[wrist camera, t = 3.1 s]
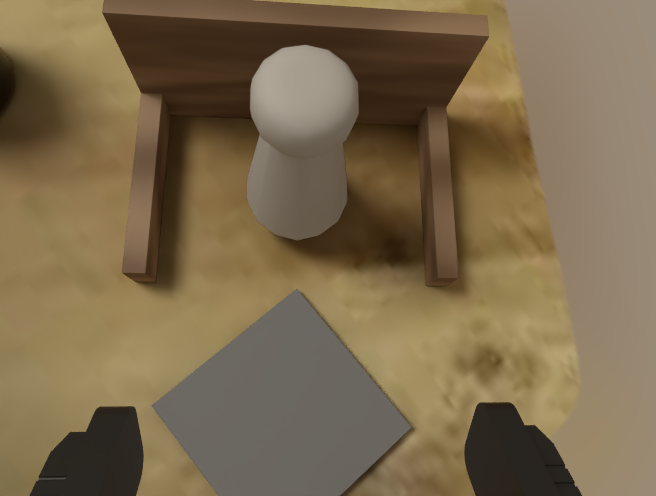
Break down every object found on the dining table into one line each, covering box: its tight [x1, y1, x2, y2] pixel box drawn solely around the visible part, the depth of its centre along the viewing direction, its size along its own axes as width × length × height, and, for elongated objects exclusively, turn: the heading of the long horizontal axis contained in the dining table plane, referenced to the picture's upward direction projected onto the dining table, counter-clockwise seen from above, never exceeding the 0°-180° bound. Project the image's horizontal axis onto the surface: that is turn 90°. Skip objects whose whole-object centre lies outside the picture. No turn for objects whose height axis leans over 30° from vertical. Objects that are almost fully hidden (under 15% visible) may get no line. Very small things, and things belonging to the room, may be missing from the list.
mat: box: [152, 289, 411, 496], centre depth 27 cm, size 10×10×1 cm
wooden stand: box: [102, 0, 489, 286], centre depth 27 cm, size 12×18×9 cm, turn 90°
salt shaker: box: [247, 45, 359, 240], centre depth 25 cm, size 6×6×13 cm
